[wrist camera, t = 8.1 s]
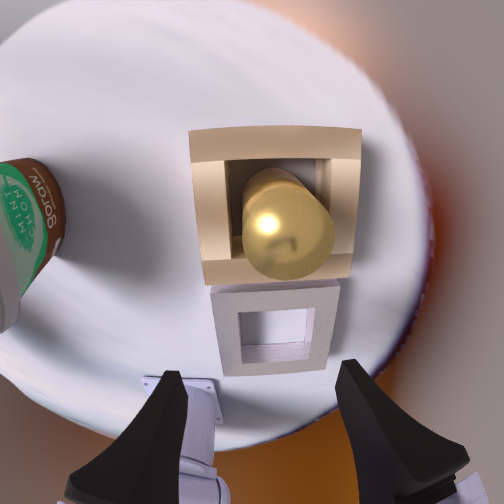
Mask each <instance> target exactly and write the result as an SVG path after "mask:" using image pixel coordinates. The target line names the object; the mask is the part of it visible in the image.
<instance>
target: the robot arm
mask: <svg viewBox="0 0 504 504" xmlns="http://www.w3.org/2000/svg"><path fill="white" fill-rule="evenodd" d="M141 382H142V384H143V386H144V388H145V390H146V392H147V394H148V395H149V398H148V400H147V401H146V403H145V404H144V406H143V407H142V409H141V410H140V411H139V413H138V414H137V415H136V417H135V418H134V419H133V421H132V422H131V423H130V424H129V426H128V427H127V428H126V429H125V430H124V431H123V432H122V434H121V435H120V436H119V437H118V438H117V439H116V440H115V441H114V442H113V443H112V444H111V445H110V446H109V447H108V448H106V449H105V450H104V451H103V452H102V453H101V454H99V455H98V456H97V457H95V458H94V459H93V460H92V461H90V462H89V463H88V464H86V465H84V466H83V467H81V468H80V469H78V470H77V471H75V472H73V473H72V474H70V476H69V479H68V482H67V486H66V490H65V494H64V496H65V498H67V499H69V500H70V501H72V502H74V503H76V504H230V493H229V489H228V486H227V485H226V483H225V482H224V480H223V479H222V478H221V477H217V475H216V474H217V469H215V468H211V466H212V463H213V457H214V438H215V424H223V417H222V413H221V409H220V406H219V402H218V398H217V394H216V389H215V385H214V382H213V381H212V380H208V379H182V378H181V375H180V372H179V371H168V370H166V371H165V372H164V373H163V375H162V377H161V378H157V377H142V378H141ZM335 391H336V396H337V401H338V406H339V409H340V412H341V415H342V418H343V421H344V424H345V427H346V430H347V433H348V437H349V439H350V442H351V446H352V450H353V455H354V460H355V466H356V472H357V479H358V489H359V502H360V504H489V501H488V498H487V495H486V492H485V489H484V487H483V484H482V481H481V479H480V477H479V474H478V471H475V472H474V473H472V474H471V475H469V476H467V477H466V478H464V479H463V480H461V481H460V482H458V483H456V484H454V481H453V480H455V479H456V476H455V474H454V473H456V472H457V471H459V470H460V469H461V468H463V467H464V466H465V465H466V464H468V463H469V461H470V458H469V456H468V454H467V451H466V449H465V448H464V446H462V445H460V444H458V443H455V442H453V441H450V440H448V439H446V438H444V437H442V436H440V435H438V434H436V433H434V432H433V431H431V430H430V429H428V428H426V427H425V426H423V425H421V424H420V423H419V422H417V421H416V420H415V419H413V418H412V417H411V416H409V415H408V414H407V413H405V412H404V411H403V410H402V409H401V408H400V407H399V406H398V405H397V404H396V403H395V402H393V401H392V400H391V399H390V398H389V397H388V396H387V395H386V394H385V393H384V391H383V390H382V389H381V388H379V386H378V385H377V384H376V383H375V382H374V381H373V379H372V378H371V377H370V376H369V375H368V374H367V372H366V371H365V370H364V369H363V368H362V366H361V365H360V364H359V363H358V361H357V360H356V359H350V360H344V361H342V363H341V367H340V371H339V374H338V378H337V381H336V385H335ZM57 504H65V503H63V502H61V501H58V502H57Z"/></svg>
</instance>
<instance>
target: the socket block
mask: <svg viewBox="0 0 504 504" xmlns="http://www.w3.org/2000/svg"><path fill="white" fill-rule="evenodd" d="M340 287H341V286H340V284H339V282H338V280H337V278H333V279H319V280H304V281H288V282H270V283H251V284H229V285H212V286H211V292H210V295H211V302H212V309H213V315H214V322H215V328H216V334H217V340H218V346H219V352H220V358H221V363H222V369H223V374H224V376H254V375H271V374H285V373H296V372H305V371H314V370H322V369H325V367H326V363H327V358H328V354H329V349H330V344H331V339H332V334H333V329H334V324H335V318H336V312H337V306H338V300H339V294H340ZM304 308H308V311H307V321H306V330H305V339H304V342H293V343H281V344H266V345H246V346H242V341H241V330H240V319H239V312H258V311H276V310H290V309H304Z"/></svg>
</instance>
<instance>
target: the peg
mask: <svg viewBox="0 0 504 504" xmlns="http://www.w3.org/2000/svg"><path fill="white" fill-rule="evenodd" d="M334 241H335V229H334V224H333V221H332V218H331V216H330V215H329V213H328V211H327V210H326V209H325V208H324V207H323V206H322V205H321V203H320V202H319V201H318V200H317V199H316V198H315V197H314V196H313V195H312V194H311V193H310V192H309V191H308V190H307V189H306V188H305V187H304V186H303V184H302V183H301V182H300V181H299V180H298V179H297V178H296V177H295V176H294V175H292V174H291V173H290V172H288V171H286V170H283V169H280V168H267V169H263V170H261V171H259V172H257V173H256V174H254V175H253V176H252V177H251V178H250V179H249V180H248V182H247V183H246V185H245V188H244V191H243V226H242V243H243V249H244V253H245V255H246V257H247V259H248V261H249V262H250V264H251V265H252V266H253V267H254V268H255V269H256V270H257V271H258V272H260V273H261V274H263V275H265V276H267V277H269V278H272V279H276V280H283V281H286V280H296V279H300V278H303V277H306V276H308V275H310V274H312V273H313V272H315V271H316V270H317V269H319V268H320V267H321V266H322V265H323V264H324V263H325V261H326V260H327V259H328V257H329V255H330V254H331V251H332V249H333V246H334Z"/></svg>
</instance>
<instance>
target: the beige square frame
mask: <svg viewBox="0 0 504 504" xmlns="http://www.w3.org/2000/svg"><path fill="white" fill-rule="evenodd" d="M188 132H189V146H190V158H191V170H192V181H193V191H194V201H195V210H196V219H197V227H198V236H199V244H200V251H201V259H202V266H203V273H204V280H205V285H229V284H251V283H270V282H288V281H304V280H319V279H333V278H346V277H350V271H351V264H352V257H353V249H354V241H355V232H356V223H357V213H358V201H359V187H360V169H361V136H362V129H352V128H338V127H321V126H245V127H227V128H214V129H202V130H193V131H188ZM264 158H315V198H316V199H317V200H318V201H319V202H320V203H321V205H322V206H323V207H324V208H325V209H326V210H327V211H328V213H329V215H330V216H331V218H332V221H333V224H334V229H335V241H334V246H333V249H332V251H331V254H330V255H329V257H328V259H327V260H326V261H325V263H324V264H323V265H322V266H321V267H320V268H319V269H317V270H316V271H315V272H313V273H312V274H310V275H308V276H306V277H303V278H300V279H296V280H286V281H283V280H276V279H272V278H269V277H267V276H265V275H263V274H261V273H260V272H258V271H257V270H256V269H255V268H254V267H253V266H252V265H251V264H250V262H249V261H248V259H247V257H246V255H245V253H244V249H243V243H242V235H238V236H233V229H232V215H231V200H230V184H229V168H228V160H240V159H264Z"/></svg>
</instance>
